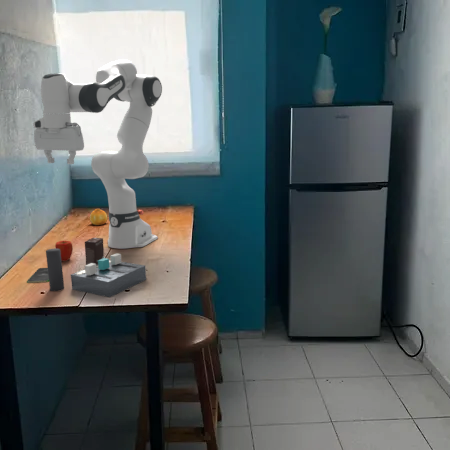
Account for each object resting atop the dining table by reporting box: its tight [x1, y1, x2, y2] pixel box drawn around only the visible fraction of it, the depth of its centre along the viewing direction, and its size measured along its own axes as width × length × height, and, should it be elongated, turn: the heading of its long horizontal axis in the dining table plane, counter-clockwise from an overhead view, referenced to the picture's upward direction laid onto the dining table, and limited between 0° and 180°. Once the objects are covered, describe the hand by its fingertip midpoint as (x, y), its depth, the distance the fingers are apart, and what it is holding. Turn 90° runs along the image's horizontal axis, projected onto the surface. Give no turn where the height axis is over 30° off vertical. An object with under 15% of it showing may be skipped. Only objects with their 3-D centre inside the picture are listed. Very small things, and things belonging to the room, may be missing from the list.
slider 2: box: [109, 252, 122, 265], centre depth 181 cm, size 3×2×3 cm, turn 150°
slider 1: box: [84, 263, 97, 275], centre depth 171 cm, size 3×2×3 cm, turn 150°
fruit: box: [89, 208, 108, 226], centre depth 262 cm, size 8×8×8 cm
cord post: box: [45, 247, 65, 292], centre depth 172 cm, size 4×4×13 cm
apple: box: [55, 240, 73, 262], centre depth 204 cm, size 6×6×8 cm
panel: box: [70, 259, 147, 298], centre depth 176 cm, size 18×16×5 cm
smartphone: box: [26, 267, 49, 284], centre depth 187 cm, size 8×1×15 cm
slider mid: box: [98, 257, 110, 270], centre depth 176 cm, size 3×2×3 cm, turn 150°
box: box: [84, 237, 105, 265], centre depth 188 cm, size 6×4×12 cm
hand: (60, 163), depth 184 cm, fingers open, 8 cm apart
